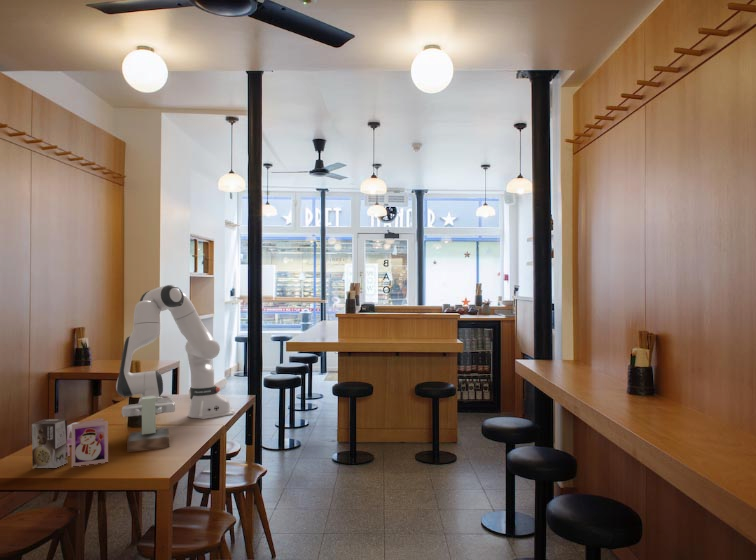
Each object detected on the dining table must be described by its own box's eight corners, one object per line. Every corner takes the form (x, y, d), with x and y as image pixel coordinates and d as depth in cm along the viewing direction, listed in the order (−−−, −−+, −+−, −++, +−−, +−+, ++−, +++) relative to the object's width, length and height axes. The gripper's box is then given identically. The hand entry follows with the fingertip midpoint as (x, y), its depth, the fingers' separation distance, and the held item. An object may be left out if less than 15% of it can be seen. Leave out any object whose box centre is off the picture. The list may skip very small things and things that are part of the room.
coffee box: (68, 463, 184) (68, 418, 185) (55, 469, 178) (55, 423, 178) (45, 463, 185) (44, 418, 186) (31, 469, 179) (31, 423, 179)
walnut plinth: (168, 437, 216) (168, 427, 216) (169, 446, 202) (169, 436, 202) (129, 441, 210) (129, 432, 210) (127, 452, 196) (127, 441, 196)
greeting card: (71, 468, 179) (71, 425, 179) (74, 461, 186) (74, 420, 186) (107, 463, 184) (107, 421, 184) (109, 457, 190) (109, 417, 191)
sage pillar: (155, 429, 210) (155, 395, 210) (155, 432, 205) (155, 398, 205) (142, 431, 208) (142, 396, 208) (141, 434, 203) (141, 399, 203)
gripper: (122, 400, 214) (119, 407, 202) (174, 396, 222) (175, 402, 210) (122, 416, 214) (120, 423, 201) (174, 410, 222) (175, 417, 210)
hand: (148, 412), depth 206 cm, fingers closed on sage pillar, 5 cm apart
